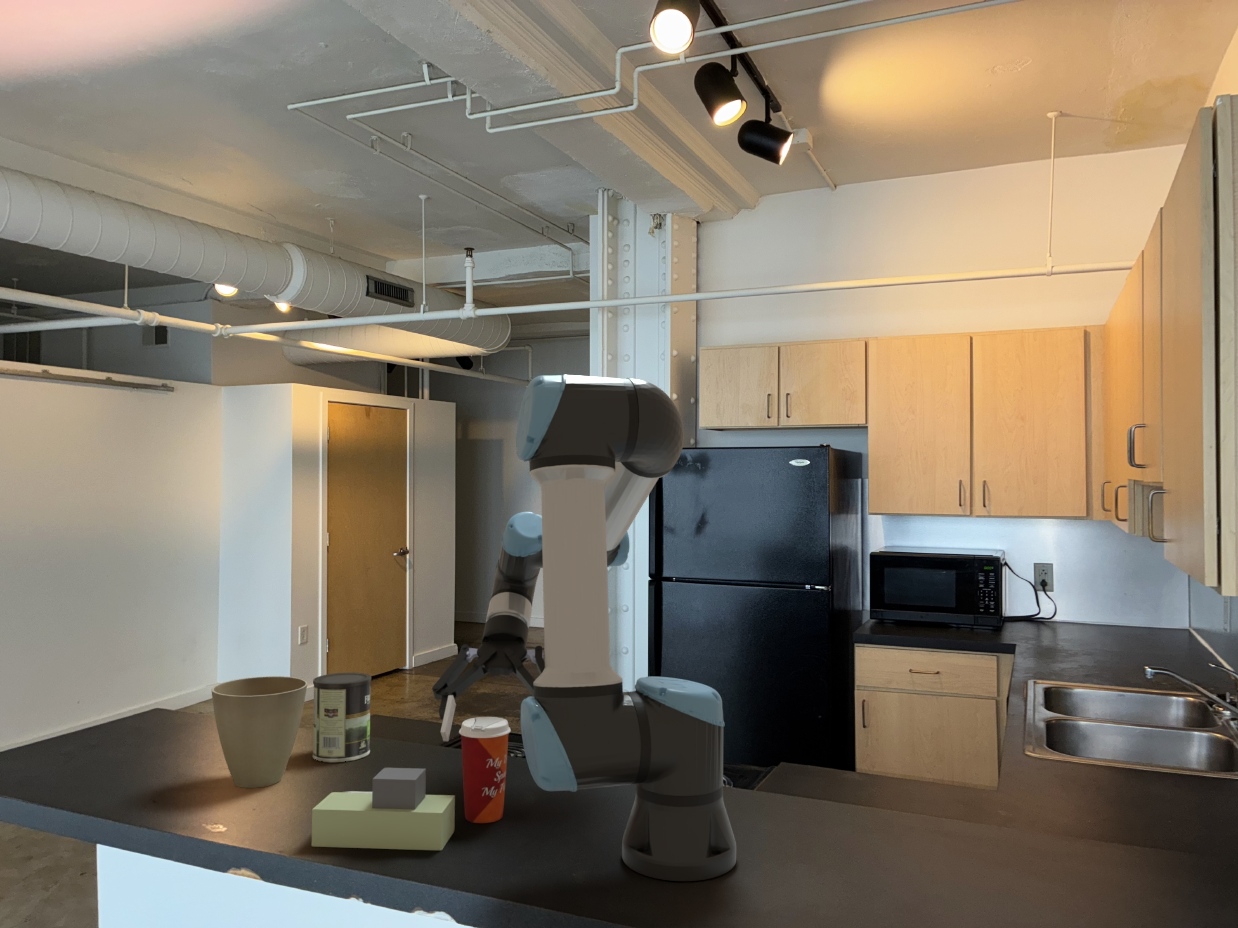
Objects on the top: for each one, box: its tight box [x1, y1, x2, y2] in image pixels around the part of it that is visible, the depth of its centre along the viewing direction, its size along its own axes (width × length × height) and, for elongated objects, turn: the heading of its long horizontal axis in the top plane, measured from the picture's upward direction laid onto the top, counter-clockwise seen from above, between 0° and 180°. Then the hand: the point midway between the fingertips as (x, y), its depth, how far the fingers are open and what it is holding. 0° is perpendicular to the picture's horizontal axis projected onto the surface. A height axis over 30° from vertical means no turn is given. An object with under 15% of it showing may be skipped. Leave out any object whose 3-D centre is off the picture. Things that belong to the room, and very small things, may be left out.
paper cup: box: [458, 716, 512, 824], centre depth 132 cm, size 8×8×14 cm
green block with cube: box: [311, 767, 456, 851], centre depth 129 cm, size 20×17×9 cm
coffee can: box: [312, 672, 372, 763], centre depth 163 cm, size 10×10×14 cm
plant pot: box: [211, 675, 308, 789], centre depth 148 cm, size 15×15×16 cm
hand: (487, 737), depth 137 cm, fingers open, 13 cm apart
